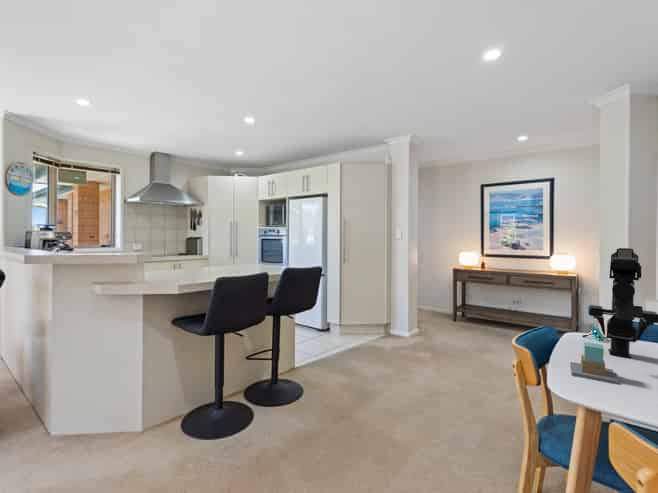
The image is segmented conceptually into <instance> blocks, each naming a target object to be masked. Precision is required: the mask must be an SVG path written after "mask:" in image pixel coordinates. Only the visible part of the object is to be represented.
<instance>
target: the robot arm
mask: <svg viewBox="0 0 658 493" xmlns="http://www.w3.org/2000/svg"><path fill="white" fill-rule="evenodd" d="M609 264H610V265H609V279H613V280H612V288H611V292H612V293H611V295H612V296H611V298H612V299H611V309H607V308H603V306H601V305H594V304H590V305H588V310H587V312H588V316H591V317H593V319H597V322H598V323H599V325H600V329H601V333H602V335H603V336H606V339H610V348H607V351H608V353H609V354H610V355H611V356H617V357H623V358H630V359H631V358H632V357H633V356H632V355H631V353H630V346H631V345H630V344H631V343H637V342H638V341H640V339H641V338H642V336H643V334H644V332H645V331H646V329H647V328H648V327H649V326H654V325H655V324H658V313H657V312H656V311H650V310H643V306H641V305H635V304H634V297H635V294H636V293H635V292H636V289H635V281H640V279H642V265H641V263H640V262H639V255H638V254H636V253H635V252H634V248H629V247H627V248H625V247H624V248H623V247H618V248H616V251H615V252H614V253H612V254H611V255H610V263H609ZM604 315H607V316H611V317H610V318H609V322H607V325H606V328H605V318H604ZM635 319H639V320H638V327H637V329H636V326H634V320H635ZM632 359H633V358H632Z"/></svg>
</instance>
